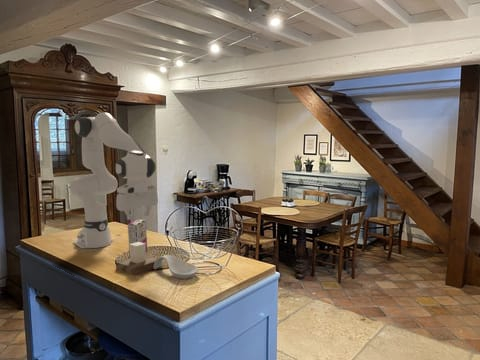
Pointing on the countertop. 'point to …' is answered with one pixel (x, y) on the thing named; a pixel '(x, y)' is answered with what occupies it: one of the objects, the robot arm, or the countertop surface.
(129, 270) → the walnut block
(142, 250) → the cream box
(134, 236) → the candy bar box
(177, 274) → the spoon rest
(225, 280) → the countertop surface
